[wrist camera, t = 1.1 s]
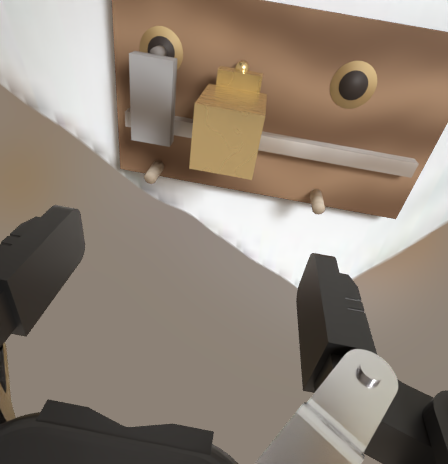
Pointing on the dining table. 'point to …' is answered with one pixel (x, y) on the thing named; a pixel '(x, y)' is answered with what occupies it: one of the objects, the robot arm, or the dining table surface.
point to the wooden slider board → (285, 97)
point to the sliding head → (229, 123)
